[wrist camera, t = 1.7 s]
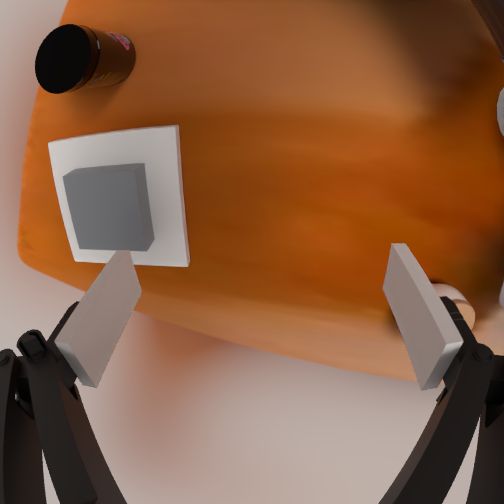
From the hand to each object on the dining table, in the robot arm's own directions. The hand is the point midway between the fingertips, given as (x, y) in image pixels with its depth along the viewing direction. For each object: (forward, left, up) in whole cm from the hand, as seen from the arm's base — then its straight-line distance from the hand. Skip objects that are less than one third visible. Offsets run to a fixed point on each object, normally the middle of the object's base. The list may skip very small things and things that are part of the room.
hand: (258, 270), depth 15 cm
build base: (+5, -19, -22) cm, 29 cm away
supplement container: (-13, -18, -22) cm, 31 cm away
